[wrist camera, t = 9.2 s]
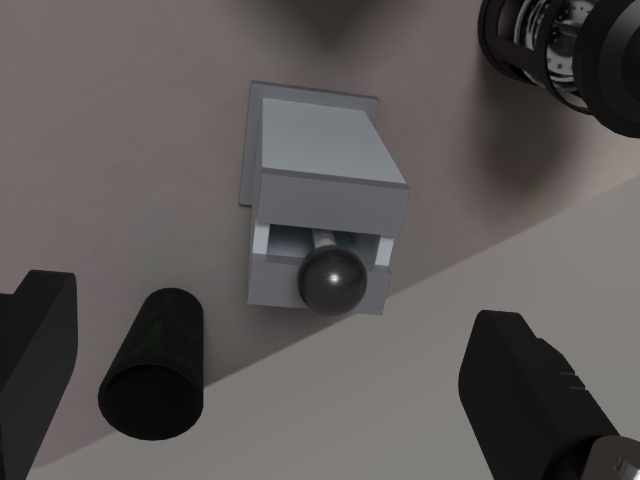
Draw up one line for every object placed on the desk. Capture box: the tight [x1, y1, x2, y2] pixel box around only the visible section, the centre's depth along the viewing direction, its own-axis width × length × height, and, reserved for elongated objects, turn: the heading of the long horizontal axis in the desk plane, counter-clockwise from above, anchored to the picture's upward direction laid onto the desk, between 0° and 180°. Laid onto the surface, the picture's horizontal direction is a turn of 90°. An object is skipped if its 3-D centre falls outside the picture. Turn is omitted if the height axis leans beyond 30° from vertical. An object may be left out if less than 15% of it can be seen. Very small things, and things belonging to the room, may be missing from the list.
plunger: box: [297, 228, 368, 316], centre depth 37 cm, size 6×6×17 cm
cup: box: [98, 288, 203, 441], centre depth 51 cm, size 8×8×12 cm
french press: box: [478, 0, 640, 139], centre depth 37 cm, size 12×9×23 cm
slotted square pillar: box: [239, 80, 410, 315], centre depth 42 cm, size 10×10×18 cm
